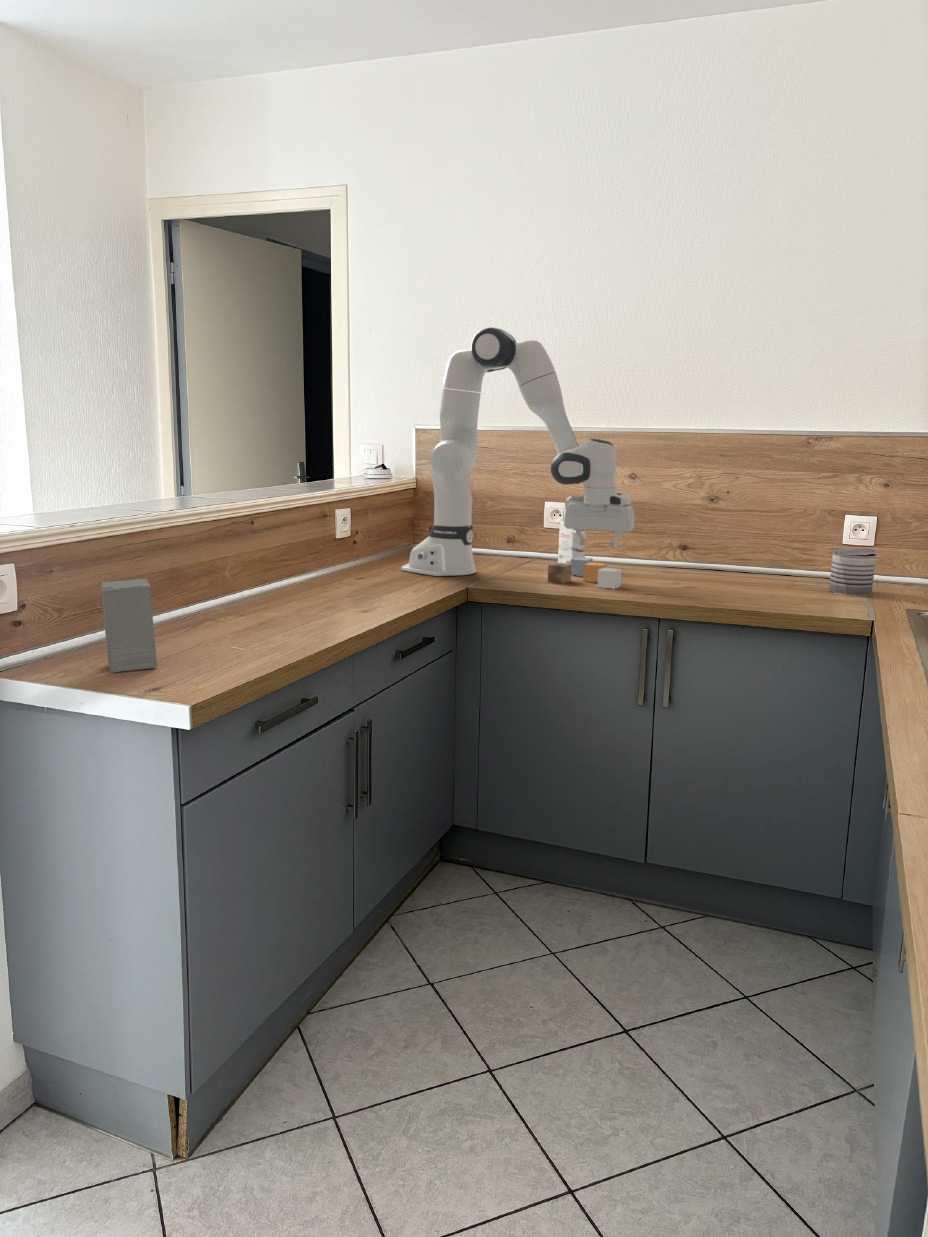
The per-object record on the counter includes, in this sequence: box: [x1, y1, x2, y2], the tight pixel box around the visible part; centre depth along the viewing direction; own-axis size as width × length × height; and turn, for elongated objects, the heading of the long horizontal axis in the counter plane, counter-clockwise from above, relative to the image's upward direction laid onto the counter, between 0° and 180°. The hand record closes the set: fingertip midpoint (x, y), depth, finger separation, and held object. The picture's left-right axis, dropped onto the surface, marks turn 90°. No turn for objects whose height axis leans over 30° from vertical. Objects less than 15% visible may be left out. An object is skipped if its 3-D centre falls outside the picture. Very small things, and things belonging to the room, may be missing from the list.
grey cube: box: [596, 567, 622, 590], centre depth 260 cm, size 5×5×5 cm
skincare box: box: [100, 578, 158, 674], centre depth 169 cm, size 8×7×16 cm
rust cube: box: [582, 561, 608, 583], centre depth 269 cm, size 5×5×5 cm
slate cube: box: [571, 557, 594, 578], centre depth 279 cm, size 5×5×5 cm
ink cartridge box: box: [557, 520, 587, 564], centre depth 289 cm, size 9×5×15 cm, turn 25°
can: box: [828, 547, 878, 597], centre depth 258 cm, size 11×11×12 cm
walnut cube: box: [547, 562, 572, 584], centre depth 267 cm, size 5×5×5 cm
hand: (598, 546), depth 268 cm, fingers open, 8 cm apart
